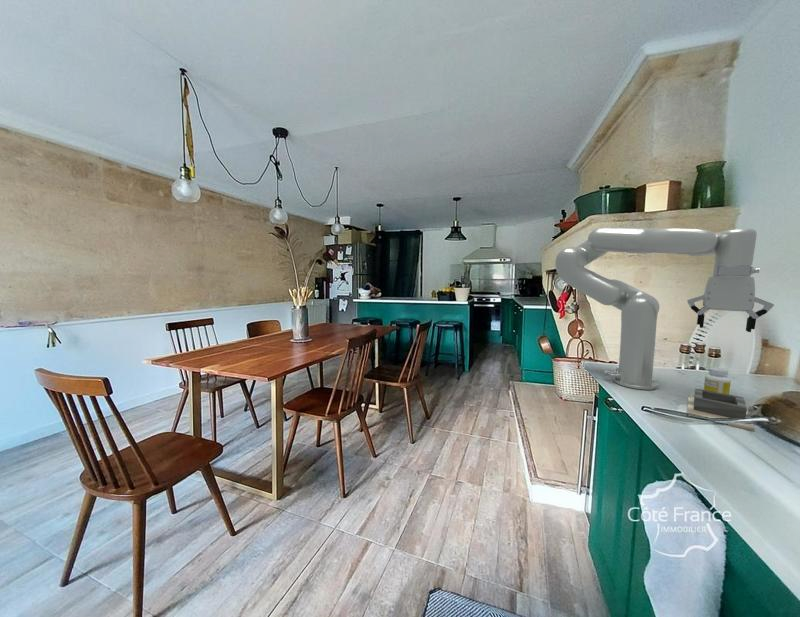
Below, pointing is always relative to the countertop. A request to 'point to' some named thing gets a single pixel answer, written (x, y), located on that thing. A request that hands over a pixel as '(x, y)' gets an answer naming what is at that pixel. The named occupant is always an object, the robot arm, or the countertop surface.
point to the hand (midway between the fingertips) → (723, 329)
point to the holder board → (718, 407)
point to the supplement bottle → (717, 381)
